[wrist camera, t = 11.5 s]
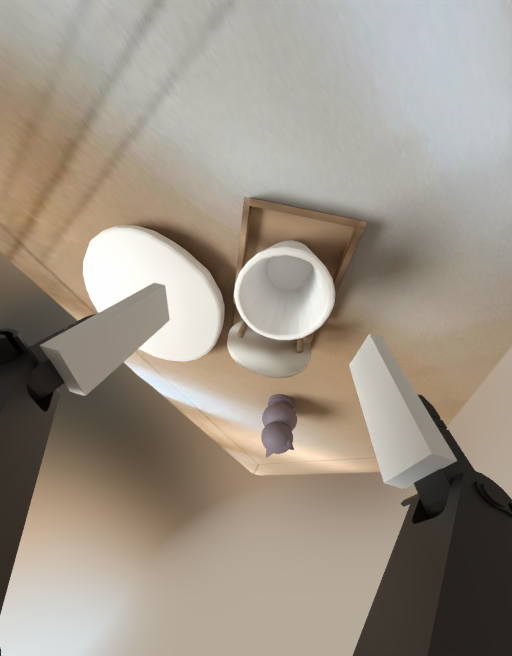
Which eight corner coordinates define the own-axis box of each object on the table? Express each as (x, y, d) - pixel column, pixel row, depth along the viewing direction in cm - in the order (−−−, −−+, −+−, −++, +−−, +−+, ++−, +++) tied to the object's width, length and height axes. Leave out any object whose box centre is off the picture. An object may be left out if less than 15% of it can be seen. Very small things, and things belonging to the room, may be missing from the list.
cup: (280, 215, 26) (266, 221, 15) (337, 256, 27) (360, 288, 17) (246, 275, 31) (218, 310, 21) (295, 306, 33) (292, 355, 22)
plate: (99, 344, 43) (47, 208, 28) (124, 329, 49) (91, 209, 34) (210, 386, 39) (216, 253, 24) (223, 366, 44) (236, 245, 29)
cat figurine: (282, 387, 46) (277, 437, 36) (304, 405, 48) (305, 457, 38) (259, 399, 50) (248, 447, 40) (279, 415, 52) (274, 464, 42)
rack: (249, 197, 26) (208, 191, 15) (360, 220, 25) (411, 233, 14) (233, 330, 39) (205, 382, 28) (306, 348, 38) (308, 412, 27)
